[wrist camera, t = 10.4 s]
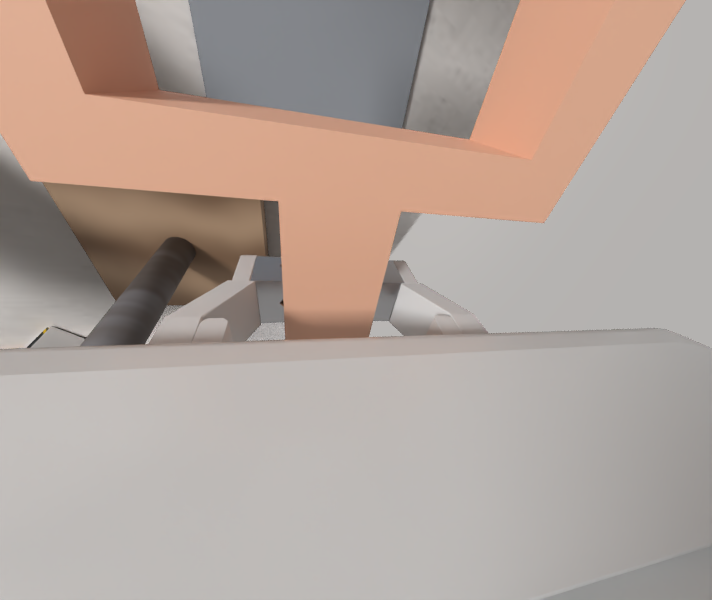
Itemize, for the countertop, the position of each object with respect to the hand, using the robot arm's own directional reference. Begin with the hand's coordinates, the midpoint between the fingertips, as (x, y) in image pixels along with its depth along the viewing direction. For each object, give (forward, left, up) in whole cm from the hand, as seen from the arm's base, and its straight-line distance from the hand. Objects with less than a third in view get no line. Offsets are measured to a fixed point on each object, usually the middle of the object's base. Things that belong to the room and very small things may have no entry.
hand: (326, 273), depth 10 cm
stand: (+7, -11, -15) cm, 20 cm away
